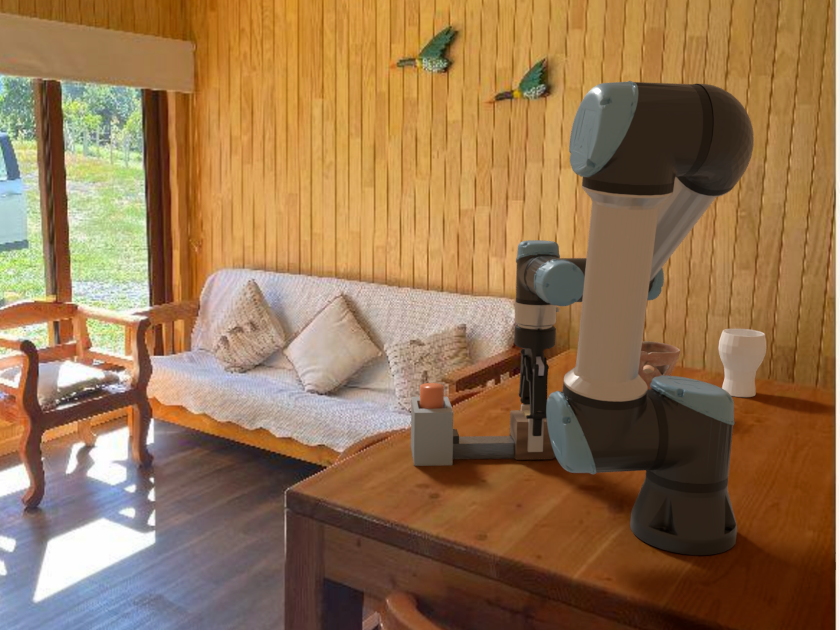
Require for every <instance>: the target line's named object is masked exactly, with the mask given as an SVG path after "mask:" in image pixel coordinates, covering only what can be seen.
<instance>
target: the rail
mask: <svg viewBox="0 0 840 630" xmlns="http://www.w3.org/2000/svg"><path fill="white" fill-rule="evenodd" d="M482 459H483V460H487V459H488V460H491V459H492V460H493V459H494V460H495V459H498V460H499V459H503V460H505V459H515V441H514V439H513V438H512V436H510V435H484V436H478V435H477V436H476V435H475V436H473V435H472V436H469V435H467V436H460V435H459V431H458V429H457V428H453V460H482ZM553 459H557V458H556V456H555V453H553Z"/></svg>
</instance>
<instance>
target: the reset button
mask: <svg viewBox="0 0 840 630" xmlns="http://www.w3.org/2000/svg"><path fill="white" fill-rule="evenodd" d="M419 397H420V409H442V408H444V397H445V385H443V384H441V383H437V382H428V383H427V382H425V383H422V384H420V386H419Z"/></svg>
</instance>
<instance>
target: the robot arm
mask: <svg viewBox="0 0 840 630" xmlns="http://www.w3.org/2000/svg"><path fill="white" fill-rule="evenodd" d="M753 129H754V128H753V124H752V121H751V118H750V115H749V114H748V112H747V110H746V108H745V107H744V105H743V104H742V103H741V102H740V101H739V99H738V98H736V97H735V96H734V95H733V94H732V93H730V92H729V91H726V90H725V89H724V88H722V87H719V86H715V85H712V84H707V83H692V84H691V83H668V82H667V83H665V82H642V81H631V80H628V81H617V82H616V81H615V82H614V81H613V82H601V83H599V84H597V85H595V86H593V87H591V88H590V89H589V91H588V92H587V93H586V94H585V95H584V96H583V98H582V101H580V103H579V106H578V108H577V110H576V113H575V115H574V120H573V122H572V126H571V130H570V137H569V145H568V146H569V147H568V152H569V153H570V155H569V163H570V166H571V167H570V168H571V170H572V171H573V173H574V174H576V175H578V176H579V177H581V178H582V179H581V180H582V182H581V188H582V190H583V191H584V192H585V193H586V195H588V197H589V198H590V199H591V207H590V208H591V209H590V218H589V228H588V229H589V230H588V238H587V240H588V241H587V251H586V257H565V258H564V257H561V256H560V246H559V244H558V242H556V241H552V240H539V239H538V240H537V239H536V240H534V239H533V240H531V239H529V240H523V241H521V242H520V243H518V245H517V250H516V251H517V253H516V258H515V263H516V271H515V272H516V275H515V276H516V278H515V301H514V323H515V324H516V325H515V326H514V334H513V335H514V336H513V337H514V339H513V340H514V341H513V342H514V345H515V346H516V347H518V348H521V349H520V371H519V372H520V374H519V375H520V376H519V389H518V397H519V398H520V403H521V404H520V410H530V415H527V416H526V418H527V419H529V420H528V449H527V451H528V452H543V432H544V418H547V426H548V432H549V437H550V441H551V445H552V448H553V451H554V453H555V456H556V458H555V459H556V460H557V462H558V463H559V465H560V466H561V467H562V468H563V470H565V471H567V472H568V473H573V474H590V475H595V474H600V473H601V474H602V473H618V472H619V473H621V472H638V471H639V472H642V471H645V476H644V477H645V478H644V480H643V483H642V485H641V487H640V489H639V492H638V495H637V497H636V499H635V501H634V503H633V506H632V509H631V511H630V525H629V526H630V530H631V532H632V534H633V535H634V536H636V537H637V538H638V539H639V540H641V541H642V542H645V543H646V544H647V545H651V546H652V547H655V548H658V549H660V550H664V551H665V552H670V553H675V554H682V555H689V556H708V555H709V556H710V555H715V554H721V553H724V552H727V551H729V550H731V549H732V548H733V547H735V545H736V542H737V533H738V524H737V521H736V516H735V513H734V509H733V506H732V501H731V498H730V497H731V496H730V494H729V487H728V486H729V477H730V476H729V474H730V466H731V465H730V464H731V451H732V439H733V432H734V431H733V428H734V425H735V403H734V399H733V396H731V395H730V394H729V393H728V392H727V391H725V390H724V389H722V387H720V386H717V385H715V384H713V383H709V382H706V381H703V380H699V379H694V378H688V377H685V376H678V375H677V376H676V375H670V376H658V377H654V378H653V379H652V382H651V383H650V387H651V389H647V384H646V382H645V381H644V380H643V379H642V378H641V377H640V376H639V374H638V370H639V362H640V354H641V346H642V341H643V337H644V328H645V320H646V313H647V305H648V301H653V300H656V299H657V298H658V297H659V296H660V295H661V294H662V288H663V287H664V283H665V282H664V281H665V277H664V275H665V273H664V268H663V267H664V266H665V265H666V263H667V261H668V260H670V258H671V257H672V255H673V254H674V253H675V251H676V250H677V249H678V248H679V246H681V245H680V244H682V242H683V241H684V240H685V239H686V237H687V236H688V235H689V233H690V232H691V231H692V229H694V227H695V225H696V224H697V223H698V222H699V220H700V219H701V218H702V217H703V215H704V214H705V213H706V211H707V210H708V209H709V208H710V206H711V204H713V203H714V201H715V200H716V198H717V197H718V198H719V197H722V196H724V195H727V194H728V193H729V192H731V191H732V190H733V189H734V187H735V186H736V185H737V184H738V183H739V181H740V180H741V179H742V178H743V176H744V175H745V172H746V170H747V169H748V167H749V165H750V162H751V159H752V155H753V149H754V147H755V146H754V145H755V143H754V140H755V139H754V130H753ZM575 303H581V308H580V309H581V311H580V319H579V320H580V322H579V329H578V330H579V331H578V341H577V351H576V362H575V366H574V367H573V368H572V369H570V370H568V371H567V372H566V373H565V374H564V377H563V382H562V383H563V384H562V389H561V390H562V391H561V390H556V391H553V392H551V393H550V394H549V396H548V376H549V369H550V368H549V367H550V366H549V364H548V362H547V357H546V356H545V352H544V351H545V350H547V349H552V348H554V347H555V346H556V333H557V328H556V326H554V325H555V324H556V322H557V313H559V312H560V308H559V307H568V306H571V305H573V304H575ZM537 411H541V412H537Z"/></svg>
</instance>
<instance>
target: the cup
mask: <svg viewBox="0 0 840 630" xmlns="http://www.w3.org/2000/svg"><path fill="white" fill-rule="evenodd" d="M721 331H722V332H721V334H720V337H719V340H718V354H719V357H720V361H721V363H722V365H723V367H724V368H723V370H724V372H723V373H724V380H723V383H722V387H721V388H722V389H724V390H725V391H727V392H728V393H729V394H730V395H731V396H732V397H738V398H751V397H755V396H756V374H757V371H758V369H759V367H760V366H761V364H762V363H763V361H764V359H765V356H766V353H767V340H766V333H764V332H762V331H760V330H755V329H747V328H726V329H723V330H721Z"/></svg>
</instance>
